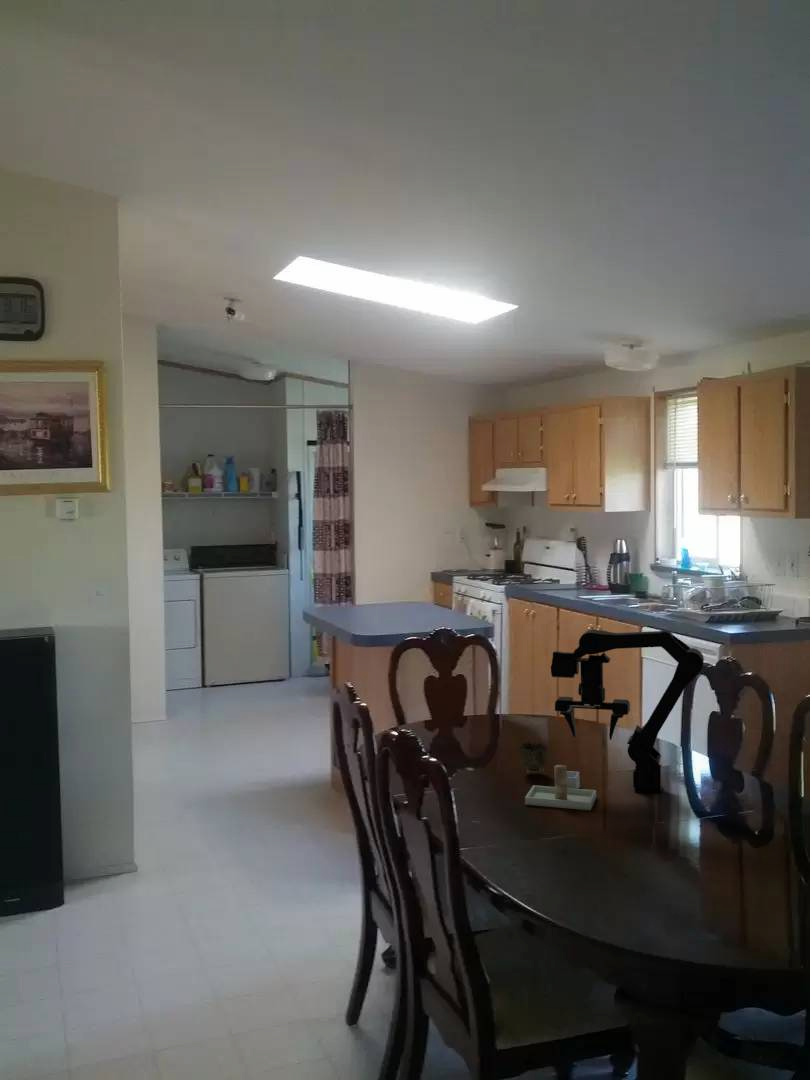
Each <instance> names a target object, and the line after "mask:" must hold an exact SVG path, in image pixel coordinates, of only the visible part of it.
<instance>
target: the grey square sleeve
mask: <svg viewBox="0 0 810 1080" xmlns="http://www.w3.org/2000/svg"><path fill="white" fill-rule="evenodd" d="M580 775H581V774H580V771H572V770H571V771H570V770H567V788H573V789H580V787H581V786H580V785H581V784H580V783H581V782H580V779H581V778H580V777H581V776H580Z"/></svg>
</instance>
